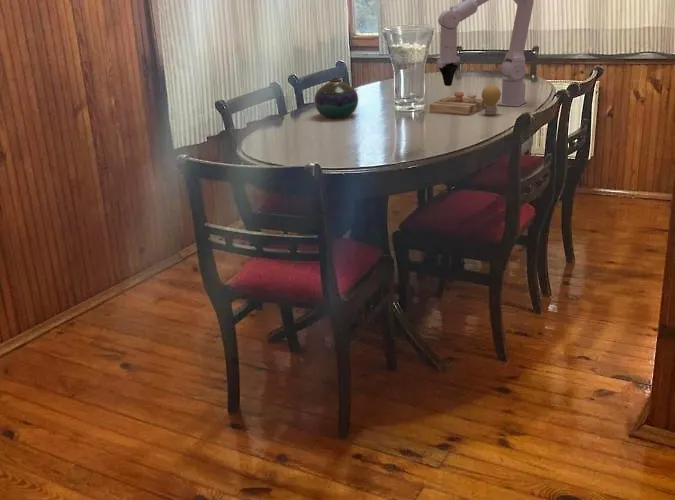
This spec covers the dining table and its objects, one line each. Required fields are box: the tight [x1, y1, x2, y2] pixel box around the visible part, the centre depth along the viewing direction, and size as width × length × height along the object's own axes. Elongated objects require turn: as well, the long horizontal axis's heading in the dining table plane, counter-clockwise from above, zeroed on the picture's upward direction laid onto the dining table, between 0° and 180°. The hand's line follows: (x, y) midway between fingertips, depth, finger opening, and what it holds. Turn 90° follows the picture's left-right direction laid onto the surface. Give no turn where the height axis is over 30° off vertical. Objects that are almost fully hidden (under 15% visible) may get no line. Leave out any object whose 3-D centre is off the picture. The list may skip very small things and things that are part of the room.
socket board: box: [429, 95, 486, 117], centre depth 264 cm, size 16×15×3 cm
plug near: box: [467, 92, 478, 103], centre depth 260 cm, size 3×3×3 cm
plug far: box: [441, 97, 451, 102], centre depth 267 cm, size 3×3×3 cm
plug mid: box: [453, 91, 465, 102], centre depth 263 cm, size 3×3×3 cm
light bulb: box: [481, 84, 502, 116], centre depth 253 cm, size 6×6×10 cm
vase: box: [314, 77, 359, 119], centre depth 260 cm, size 15×15×13 cm
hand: (448, 85), depth 264 cm, fingers closed
